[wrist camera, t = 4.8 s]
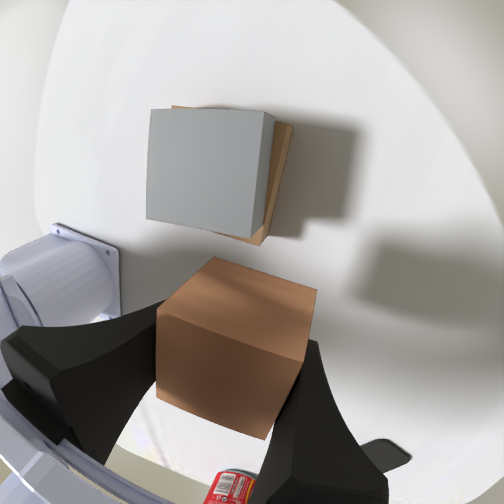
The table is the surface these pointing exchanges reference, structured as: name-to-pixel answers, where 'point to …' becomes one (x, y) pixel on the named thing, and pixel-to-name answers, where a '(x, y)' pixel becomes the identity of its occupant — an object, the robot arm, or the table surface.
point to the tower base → (269, 178)
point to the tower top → (209, 168)
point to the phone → (385, 454)
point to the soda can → (231, 488)
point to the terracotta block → (232, 345)
